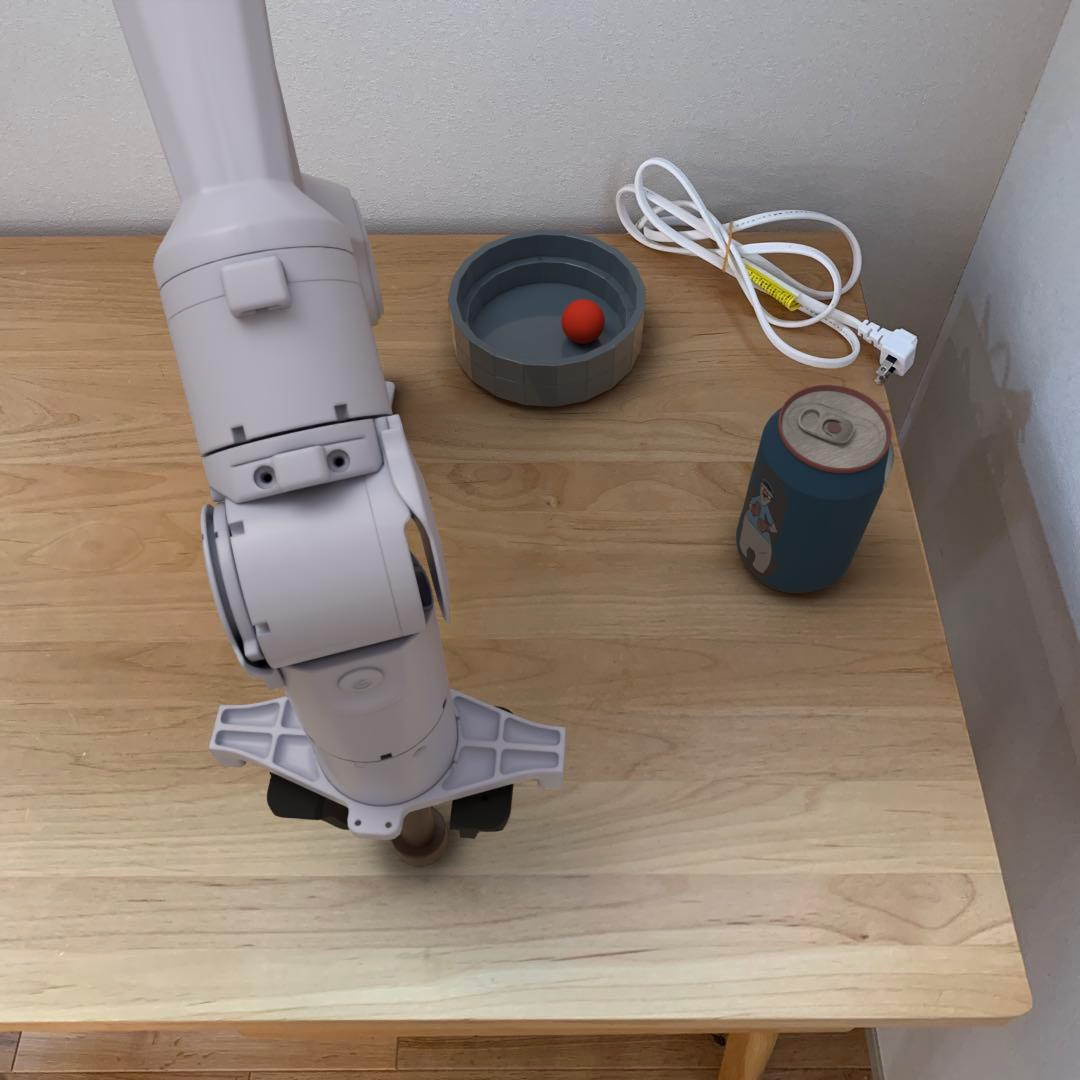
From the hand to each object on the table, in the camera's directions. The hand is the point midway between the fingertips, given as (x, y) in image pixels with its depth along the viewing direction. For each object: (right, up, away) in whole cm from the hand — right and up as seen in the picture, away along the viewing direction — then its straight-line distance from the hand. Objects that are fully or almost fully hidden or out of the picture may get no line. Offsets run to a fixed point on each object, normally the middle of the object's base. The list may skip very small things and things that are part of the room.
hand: (412, 814), depth 49 cm
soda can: (+21, +12, +13) cm, 28 cm away
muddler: (0, -2, +3) cm, 4 cm away
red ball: (+9, +28, +21) cm, 37 cm away
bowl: (+7, +27, +23) cm, 36 cm away
